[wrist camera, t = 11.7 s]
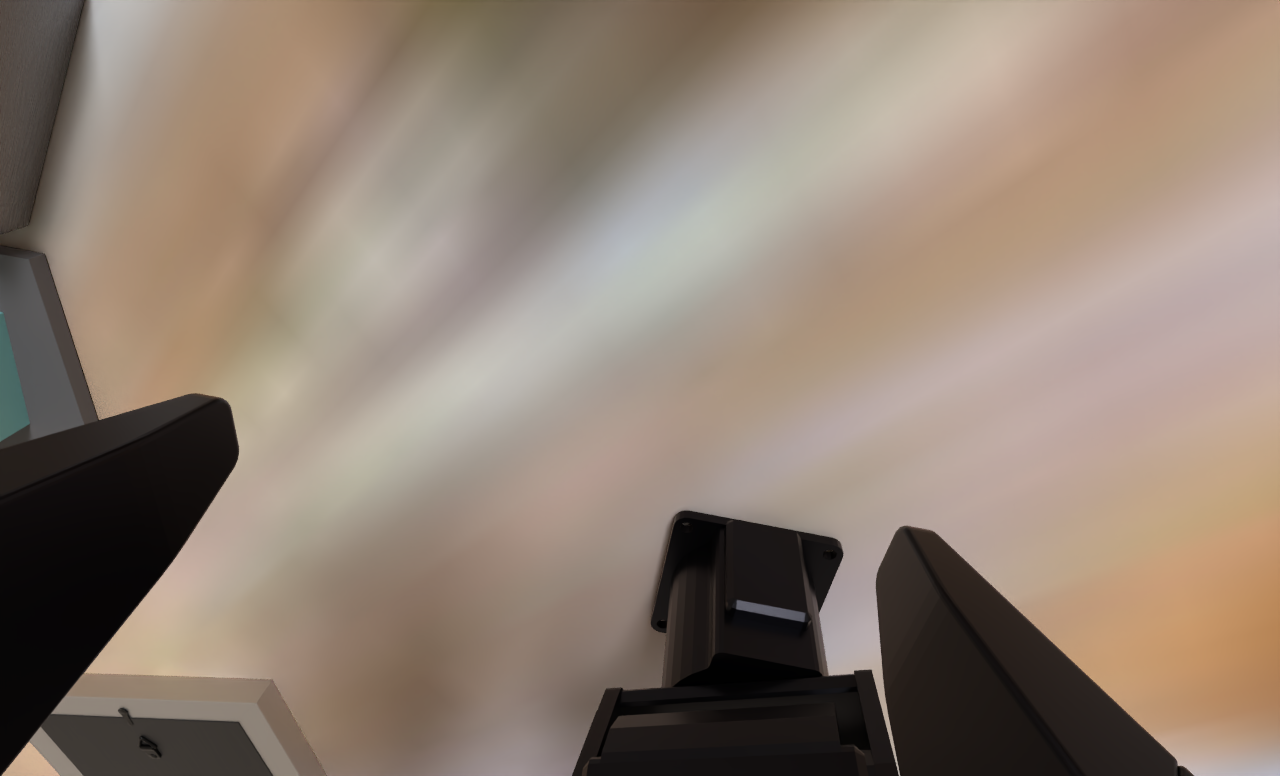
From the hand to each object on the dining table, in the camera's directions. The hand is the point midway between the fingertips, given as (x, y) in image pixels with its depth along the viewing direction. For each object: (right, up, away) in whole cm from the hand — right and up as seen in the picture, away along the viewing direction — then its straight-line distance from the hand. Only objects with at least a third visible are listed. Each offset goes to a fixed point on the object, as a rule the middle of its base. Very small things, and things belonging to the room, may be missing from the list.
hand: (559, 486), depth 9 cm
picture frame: (-25, -22, +32) cm, 46 cm away
